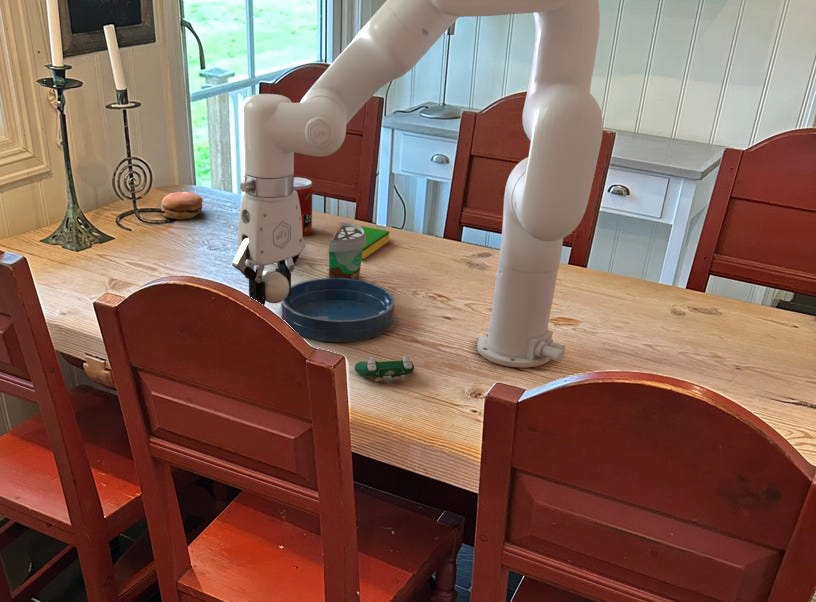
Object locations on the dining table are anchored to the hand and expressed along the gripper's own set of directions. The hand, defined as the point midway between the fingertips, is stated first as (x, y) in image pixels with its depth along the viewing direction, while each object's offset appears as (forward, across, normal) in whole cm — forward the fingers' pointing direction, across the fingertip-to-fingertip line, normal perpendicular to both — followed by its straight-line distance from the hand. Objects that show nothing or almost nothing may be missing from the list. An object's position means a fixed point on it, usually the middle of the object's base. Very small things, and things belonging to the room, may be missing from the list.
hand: (270, 297), depth 138 cm
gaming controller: (+9, +5, -21) cm, 23 cm away
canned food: (+9, +45, +41) cm, 62 cm away
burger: (+9, +34, +68) cm, 76 cm away
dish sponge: (+9, +48, +23) cm, 54 cm away
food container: (+9, +31, +11) cm, 34 cm away
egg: (+1, 0, 0) cm, 1 cm away
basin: (+9, +16, 0) cm, 18 cm away
